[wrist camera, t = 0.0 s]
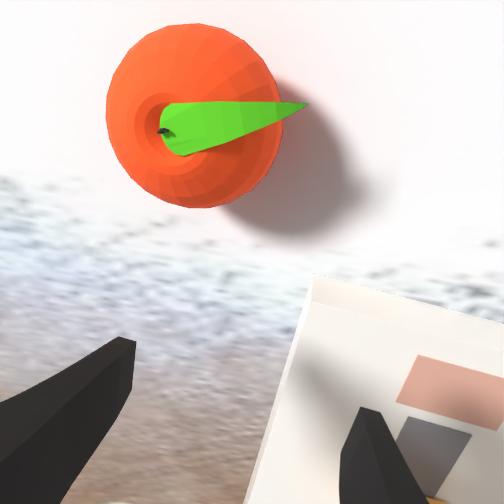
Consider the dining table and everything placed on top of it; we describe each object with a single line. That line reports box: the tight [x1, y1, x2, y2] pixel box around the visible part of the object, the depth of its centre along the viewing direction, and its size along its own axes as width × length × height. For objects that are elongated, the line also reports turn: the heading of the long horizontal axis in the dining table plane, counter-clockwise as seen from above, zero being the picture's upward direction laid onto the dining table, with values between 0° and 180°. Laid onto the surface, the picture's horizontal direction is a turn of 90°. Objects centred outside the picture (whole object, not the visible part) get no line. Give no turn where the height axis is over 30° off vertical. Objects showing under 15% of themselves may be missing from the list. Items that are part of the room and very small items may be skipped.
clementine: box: [106, 23, 308, 208], centre depth 16 cm, size 8×7×7 cm
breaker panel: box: [243, 273, 504, 504], centre depth 24 cm, size 22×16×3 cm
